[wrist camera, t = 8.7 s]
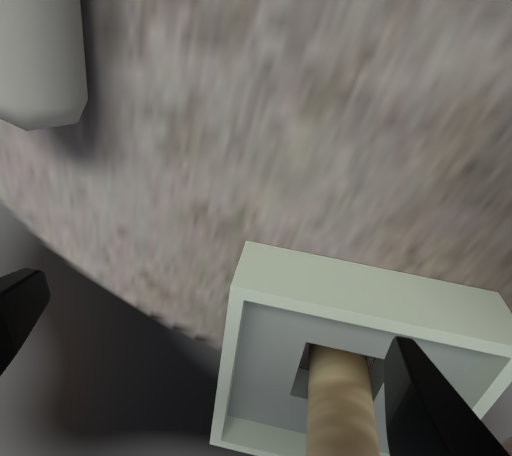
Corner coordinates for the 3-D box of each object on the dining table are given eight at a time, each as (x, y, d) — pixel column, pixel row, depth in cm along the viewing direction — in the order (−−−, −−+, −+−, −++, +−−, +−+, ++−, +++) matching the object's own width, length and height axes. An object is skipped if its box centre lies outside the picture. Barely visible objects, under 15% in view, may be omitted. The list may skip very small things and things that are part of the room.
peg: (373, 336, 25) (392, 455, 18) (356, 373, 27) (368, 492, 20) (316, 324, 25) (314, 437, 18) (304, 361, 27) (298, 475, 21)
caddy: (498, 292, 22) (536, 351, 18) (406, 433, 30) (419, 495, 26) (246, 240, 23) (230, 285, 19) (223, 391, 31) (209, 443, 27)
